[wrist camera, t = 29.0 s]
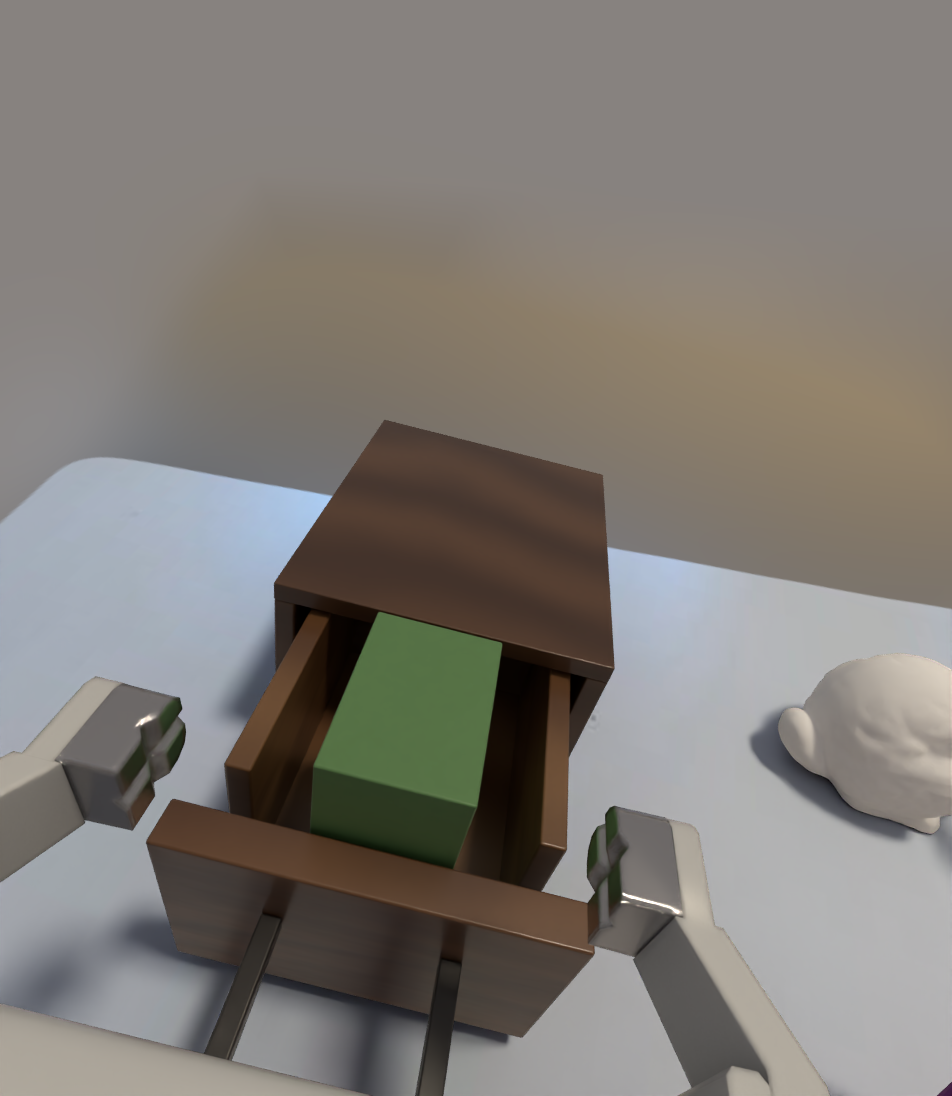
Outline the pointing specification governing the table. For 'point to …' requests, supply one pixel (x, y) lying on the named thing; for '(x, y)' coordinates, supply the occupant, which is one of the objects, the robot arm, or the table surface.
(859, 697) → the rabbit
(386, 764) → the block
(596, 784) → the table surface
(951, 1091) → the mug
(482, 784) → the drawer
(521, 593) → the cabinet
